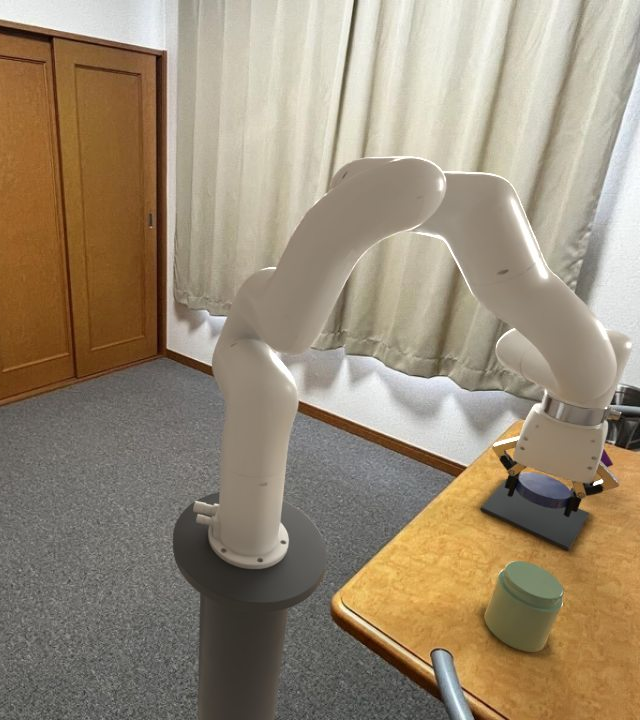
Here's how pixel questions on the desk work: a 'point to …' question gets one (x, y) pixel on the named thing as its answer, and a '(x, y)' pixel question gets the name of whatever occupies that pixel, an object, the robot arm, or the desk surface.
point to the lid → (543, 490)
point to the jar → (524, 606)
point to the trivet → (535, 517)
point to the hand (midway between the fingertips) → (537, 501)
